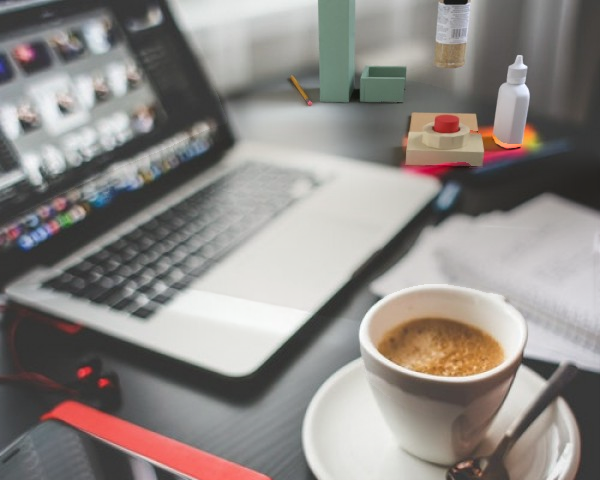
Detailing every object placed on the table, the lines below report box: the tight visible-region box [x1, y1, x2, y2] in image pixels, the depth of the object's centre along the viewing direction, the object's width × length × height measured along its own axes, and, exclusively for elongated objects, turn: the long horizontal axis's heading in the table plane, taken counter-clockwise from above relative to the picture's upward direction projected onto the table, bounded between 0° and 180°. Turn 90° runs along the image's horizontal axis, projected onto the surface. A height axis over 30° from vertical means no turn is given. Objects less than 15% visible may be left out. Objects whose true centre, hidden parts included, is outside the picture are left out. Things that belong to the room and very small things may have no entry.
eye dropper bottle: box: [492, 54, 531, 145], centre depth 86 cm, size 4×6×12 cm
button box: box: [405, 122, 485, 167], centre depth 85 cm, size 10×7×4 cm
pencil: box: [290, 75, 313, 106], centre depth 115 cm, size 19×1×1 cm, turn 11°
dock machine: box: [317, 0, 408, 103], centre depth 106 cm, size 14×9×19 cm, turn 79°
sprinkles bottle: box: [433, 0, 472, 69], centre depth 87 cm, size 5×5×13 cm
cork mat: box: [409, 112, 479, 132], centre depth 96 cm, size 10×10×1 cm
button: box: [434, 115, 459, 133], centre depth 84 cm, size 3×3×2 cm
